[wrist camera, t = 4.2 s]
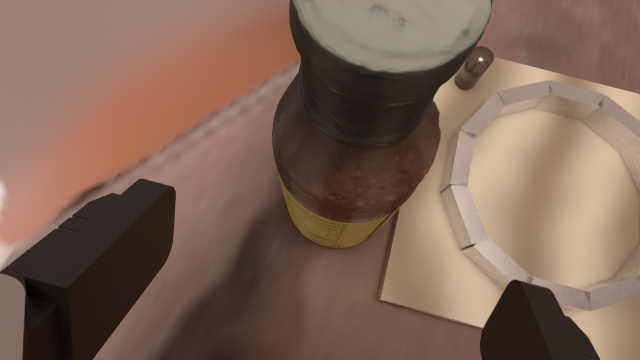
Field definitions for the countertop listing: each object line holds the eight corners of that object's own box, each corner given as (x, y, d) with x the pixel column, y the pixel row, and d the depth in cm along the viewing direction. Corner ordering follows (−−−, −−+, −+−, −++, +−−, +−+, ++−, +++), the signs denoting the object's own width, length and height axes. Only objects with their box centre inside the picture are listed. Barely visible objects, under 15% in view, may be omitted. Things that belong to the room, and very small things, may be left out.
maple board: (674, 114, 30) (689, 107, 29) (671, 381, 25) (689, 384, 24) (430, 52, 31) (435, 42, 30) (376, 299, 26) (380, 299, 24)
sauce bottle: (351, 142, 28) (458, -191, 9) (401, 222, 27) (646, 18, 8) (265, 187, 27) (187, -90, 8) (312, 273, 26) (352, 178, 7)
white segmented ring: (657, 121, 29) (697, 101, 26) (652, 333, 25) (698, 337, 22) (456, 70, 29) (473, 44, 26) (417, 270, 25) (433, 265, 22)
